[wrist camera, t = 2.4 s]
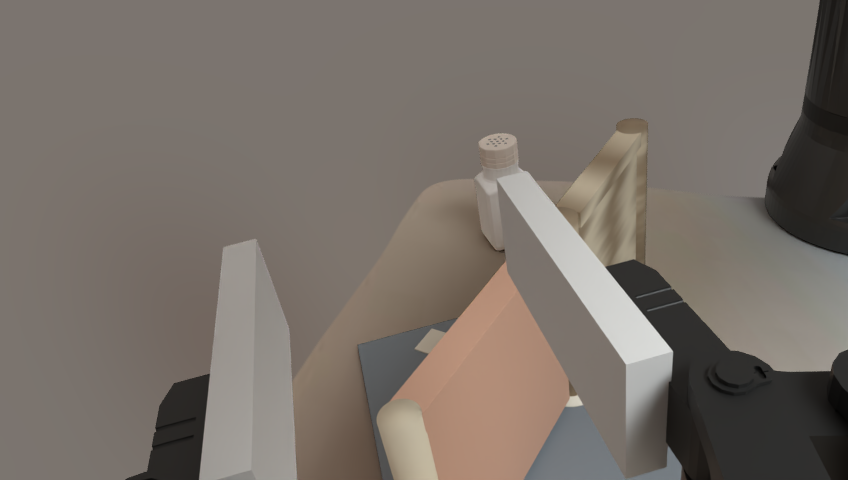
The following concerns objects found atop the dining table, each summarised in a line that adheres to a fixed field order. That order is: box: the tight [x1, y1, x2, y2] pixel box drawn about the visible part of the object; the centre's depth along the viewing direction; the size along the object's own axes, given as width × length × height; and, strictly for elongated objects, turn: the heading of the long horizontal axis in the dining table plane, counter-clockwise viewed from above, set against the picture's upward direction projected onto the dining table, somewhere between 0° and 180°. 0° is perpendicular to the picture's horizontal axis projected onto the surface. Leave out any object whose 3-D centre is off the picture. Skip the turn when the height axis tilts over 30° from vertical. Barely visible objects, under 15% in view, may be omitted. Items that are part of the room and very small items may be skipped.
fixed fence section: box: [555, 118, 648, 396], centre depth 43 cm, size 14×2×13 cm, turn 147°
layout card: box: [358, 318, 682, 480], centre depth 41 cm, size 23×22×1 cm
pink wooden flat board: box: [376, 261, 570, 480], centre depth 33 cm, size 15×2×13 cm, turn 147°
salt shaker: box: [474, 133, 524, 250], centre depth 56 cm, size 4×4×10 cm
